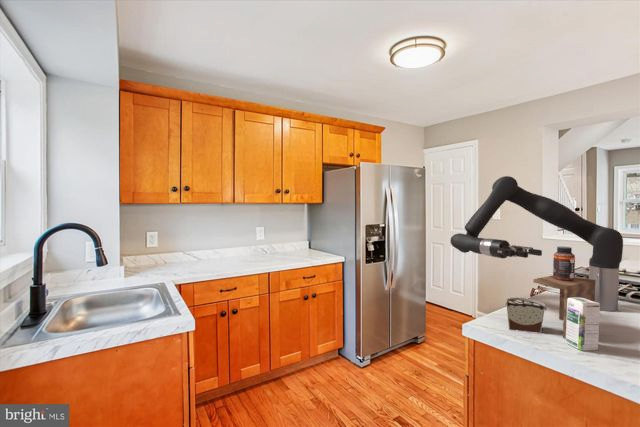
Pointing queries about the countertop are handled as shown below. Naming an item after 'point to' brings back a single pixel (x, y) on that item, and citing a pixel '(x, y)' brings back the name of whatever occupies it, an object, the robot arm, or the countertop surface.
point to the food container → (525, 314)
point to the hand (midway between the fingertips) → (534, 254)
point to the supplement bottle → (564, 264)
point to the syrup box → (582, 323)
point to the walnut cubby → (569, 292)
